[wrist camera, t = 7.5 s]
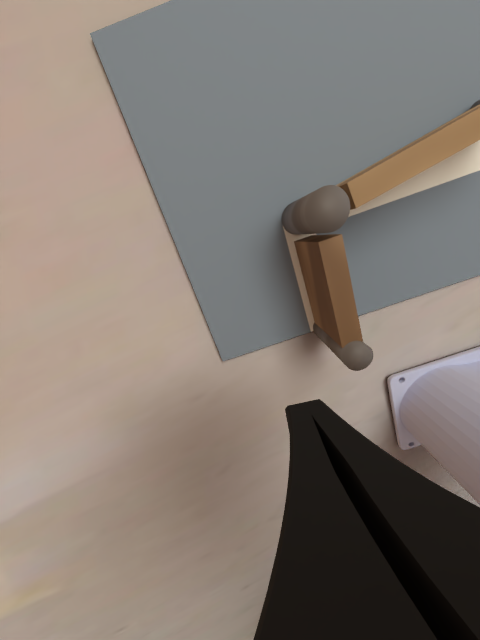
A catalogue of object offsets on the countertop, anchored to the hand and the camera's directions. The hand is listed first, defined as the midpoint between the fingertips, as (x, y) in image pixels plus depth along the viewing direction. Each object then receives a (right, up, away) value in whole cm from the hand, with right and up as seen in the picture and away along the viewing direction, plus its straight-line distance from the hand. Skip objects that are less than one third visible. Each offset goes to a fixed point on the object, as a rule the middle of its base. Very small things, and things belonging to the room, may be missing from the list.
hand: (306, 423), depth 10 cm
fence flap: (+7, +14, +6) cm, 17 cm away
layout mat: (+3, +13, +6) cm, 15 cm away
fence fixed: (+2, +7, +8) cm, 11 cm away
